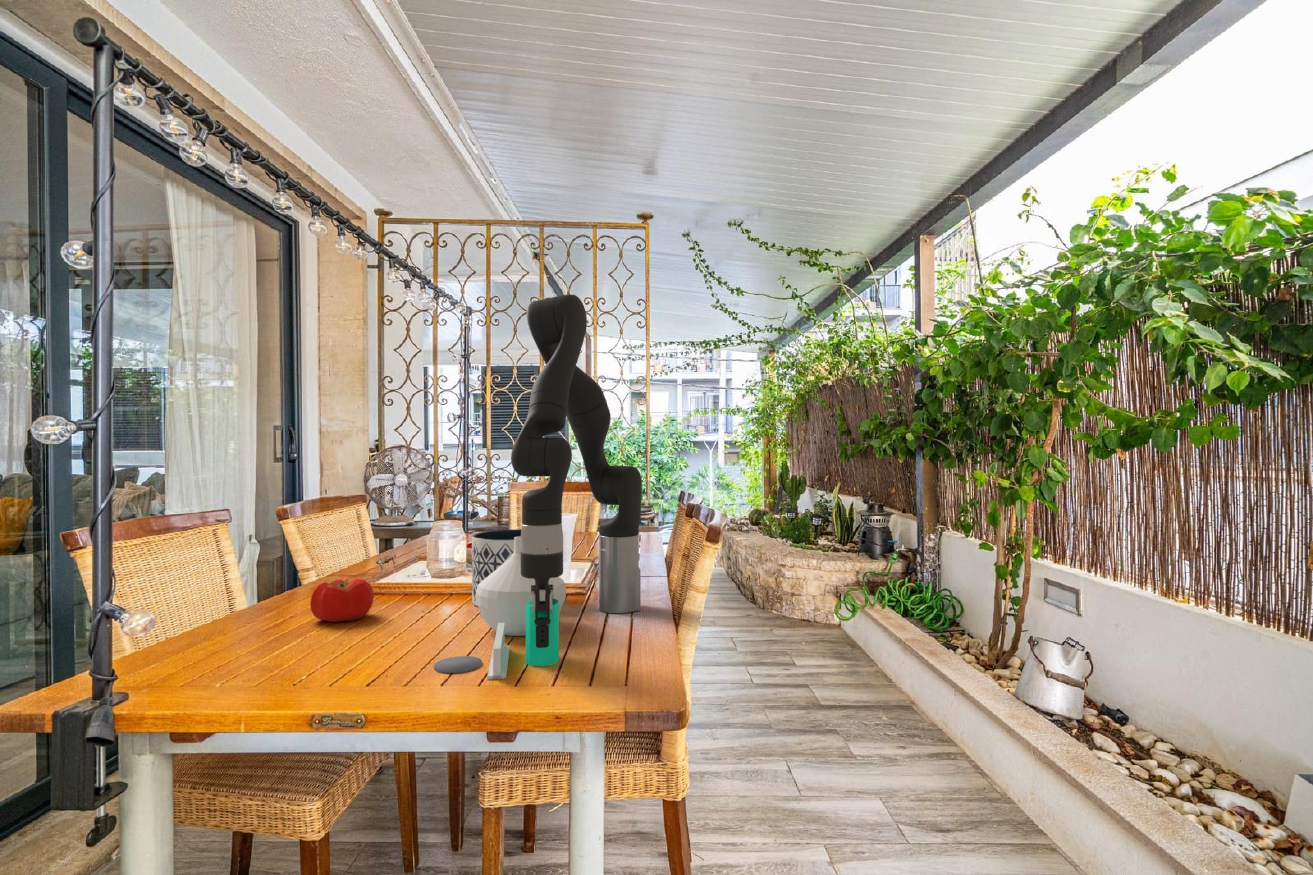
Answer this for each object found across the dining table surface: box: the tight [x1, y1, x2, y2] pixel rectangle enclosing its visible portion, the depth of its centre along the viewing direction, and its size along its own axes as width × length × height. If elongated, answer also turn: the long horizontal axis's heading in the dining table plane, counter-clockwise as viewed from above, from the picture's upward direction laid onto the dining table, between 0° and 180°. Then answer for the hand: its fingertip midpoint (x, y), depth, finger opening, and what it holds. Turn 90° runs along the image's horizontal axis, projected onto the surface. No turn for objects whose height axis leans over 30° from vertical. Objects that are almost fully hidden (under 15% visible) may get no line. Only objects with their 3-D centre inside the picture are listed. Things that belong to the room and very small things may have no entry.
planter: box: [471, 528, 522, 607], centre depth 165 cm, size 18×18×16 cm
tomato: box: [309, 578, 375, 623], centre depth 150 cm, size 13×12×8 cm
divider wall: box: [487, 623, 510, 680], centre depth 120 cm, size 3×16×5 cm, turn 10°
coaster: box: [433, 655, 483, 675], centre depth 118 cm, size 8×8×1 cm
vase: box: [476, 536, 567, 637], centre depth 141 cm, size 18×18×19 cm
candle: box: [525, 598, 560, 667], centre depth 121 cm, size 6×6×12 cm
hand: (542, 640), depth 121 cm, fingers open, 8 cm apart
